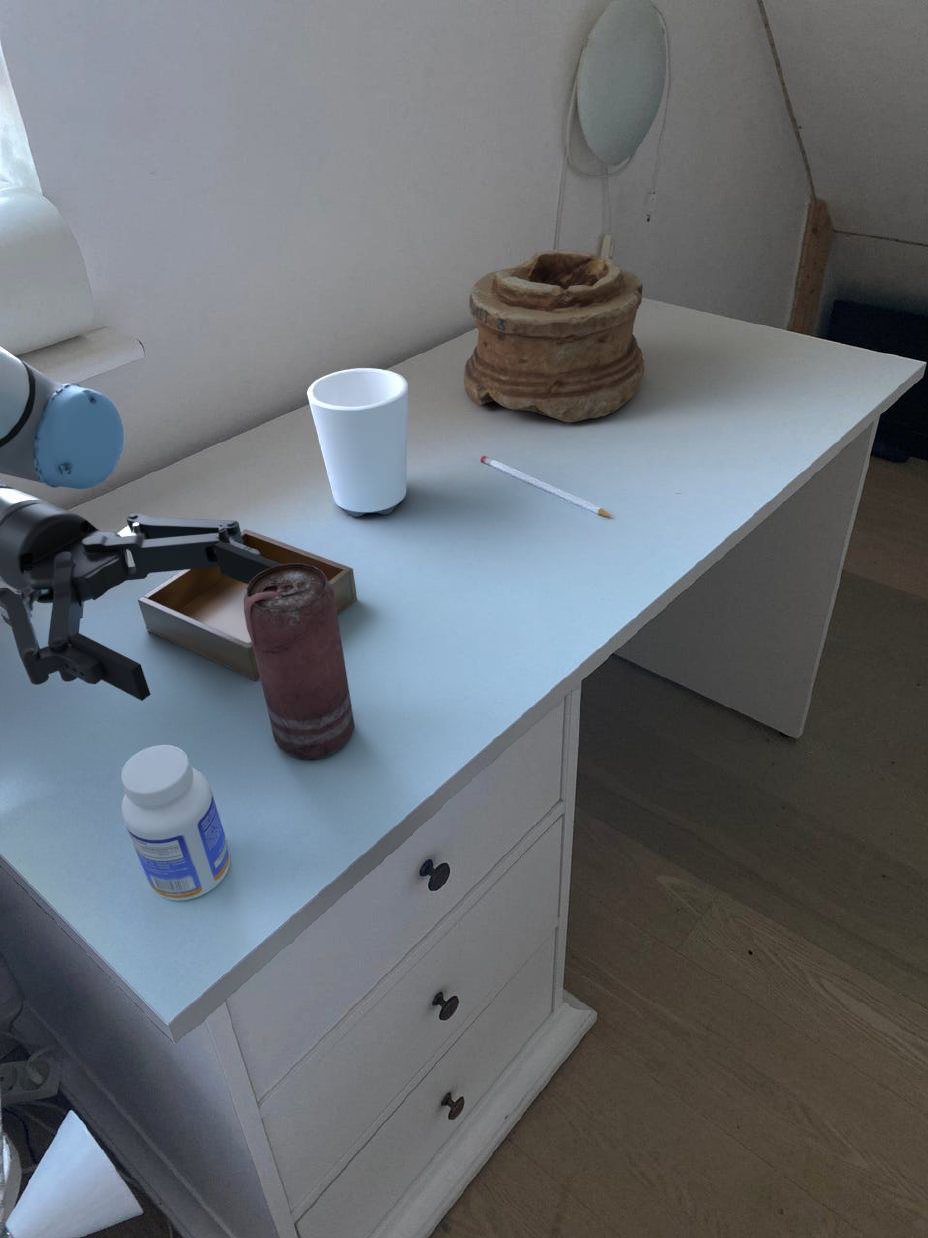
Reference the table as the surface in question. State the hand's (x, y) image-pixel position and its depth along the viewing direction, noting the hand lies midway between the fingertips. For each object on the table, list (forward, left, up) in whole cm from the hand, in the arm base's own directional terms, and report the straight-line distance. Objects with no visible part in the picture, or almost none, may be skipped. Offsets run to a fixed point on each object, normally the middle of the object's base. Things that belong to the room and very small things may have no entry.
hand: (216, 629), depth 67 cm
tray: (+2, +14, -10) cm, 17 cm away
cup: (+16, +30, -10) cm, 36 cm away
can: (+5, -3, -10) cm, 11 cm away
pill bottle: (-5, -13, -10) cm, 17 cm away
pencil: (+34, +26, -10) cm, 44 cm away
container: (+44, +50, -10) cm, 68 cm away
